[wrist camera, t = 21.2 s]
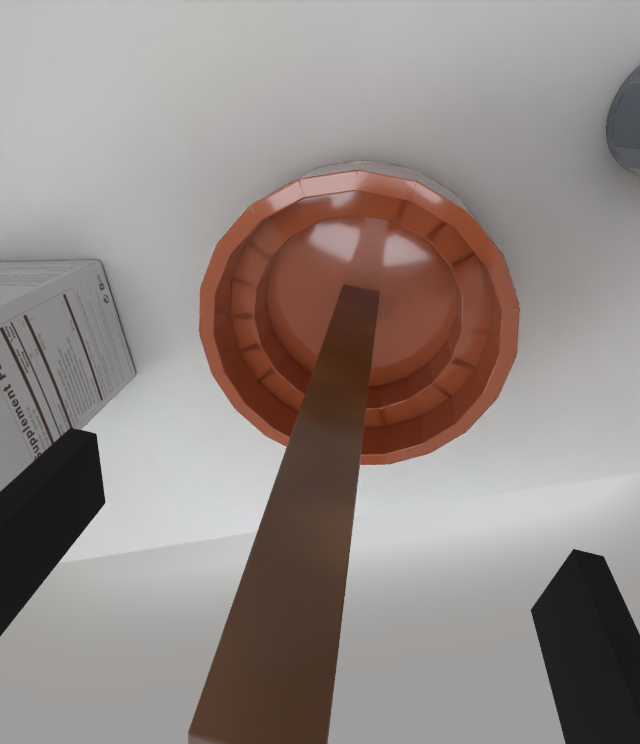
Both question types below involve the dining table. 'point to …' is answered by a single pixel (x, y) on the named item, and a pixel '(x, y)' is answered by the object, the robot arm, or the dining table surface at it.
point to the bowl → (395, 308)
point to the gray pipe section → (626, 124)
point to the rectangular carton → (54, 355)
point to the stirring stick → (298, 559)
